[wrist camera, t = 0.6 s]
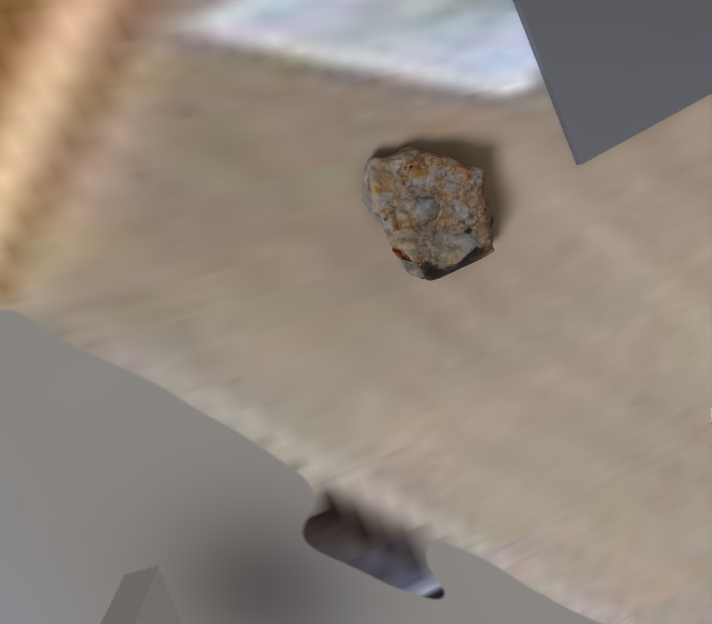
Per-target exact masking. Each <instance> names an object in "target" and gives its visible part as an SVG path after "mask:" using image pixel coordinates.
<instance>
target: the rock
mask: <svg viewBox="0 0 712 624" xmlns="http://www.w3.org/2000/svg"><path fill="white" fill-rule="evenodd" d="M363 181H364V186H363V187H364V189H365V191H364V196H363V203H364V204H366V205H368V206H369V209H370V212H371V214H372V215H373V216H374V217H375V218H376V219H378V220H379V221H380V222H381V223H382V225H383V228H384V231H385V233H386V234H387V236H388V237H387V238H388V242H389V243H390V245H391V247H392V250H393V252H394V253H395V255H396V256H397V257H399V258H400V259H401V261H402V266H403V268H404V269H406V271H407V272H408V273H409V274H411V275H413V276H418V277H419V278H421V279H427V280H428V281H429V280H435V279H438V278H441V277H443V276H445V275H447V274H450V273H452V272H454V271H456V270H458V269H460V268H462V267H464V266H467V265H469V264H471V263H473V262H476V261H478V260H480V259H482V258H484V257H486V256H487V255H489V254H490V253H492V252H493V251H494V248H493V245H492V232H491V226H492V224H493V221H494V218H493V212H492V210H491V207H490V206H489V204H488V201H487V199H486V198H485V197H484V194H483V186H484V181H485V175H484V171H483V170H481V169H480V168H477V167H471V166H465V165H463V164H462V163H460V162H457V161H456V160H454V159H452V158H450V157H449V156H443V155H437V154H434V153H431V152H425V151H422V150H419V149H417V148H415V147H405V148H402V149H399V150H398V151H397V152H395V153H394V154H391V155H389V156H387V157H370V158H369V159H368V161H367V163H366V167H365V171H364V173H363Z"/></svg>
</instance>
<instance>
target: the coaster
mask: <svg viewBox="0 0 712 624" xmlns="http://www.w3.org/2000/svg"><path fill="white" fill-rule="evenodd" d="M513 1H514V4H515V6H516V9H517V11H518V14H519V17H520V19H521V22H522V24H523V27H524V29H525V32H526V35H527V37H528V40H529V42H530V45H531V48H532V50H533V53H534V55H535V58H536V61H537V63H538V66H539V68H540V71H541V74H542V76H543V79H544V81H545V84H546V86H547V89H548V92H549V94H550V97H551V99H552V102H553V105H554V107H555V110H556V112H557V115H558V118H559V120H560V123H561V125H562V128H563V131H564V133H565V136H566V138H567V141H568V143H569V146H570V149H571V151H572V154H573V156H574V159H575V162H576V164H577V165H580V164H583V163H584V162H586V161H588V160H590V159H592V158H594V157H595V156H597V155H599V154H601V153H603V152H605V151H606V150H608V149H610V148H612V147H614V146H616V145H618V144H619V143H621V142H623V141H625V140H627V139H629V138H630V137H632V136H634V135H636V134H638V133H640V132H641V131H643V130H645V129H647V128H649V127H651V126H652V125H654V124H656V123H658V122H660V121H662V120H663V119H665V118H667V117H669V116H671V115H673V114H674V113H676V112H678V111H680V110H682V109H684V108H686V107H687V106H689V105H691V104H693V103H695V102H697V101H698V100H700V99H702V98H704V97H706V96H708V95H709V94H711V93H712V0H513Z"/></svg>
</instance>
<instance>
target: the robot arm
mask: <svg viewBox="0 0 712 624" xmlns="http://www.w3.org/2000/svg"><path fill="white" fill-rule="evenodd" d="M711 420H712V406H711ZM101 624H183V622H182V619H181V617H180V615H179V612H178V610H177V608H176V605H175V603H174V600H173V598H172V596H171V593H170V591H169V589H168V586H167V584H166V581H165V579H164V577H163V574H162V572H161V570H160V567H159V565H158V566H154V567H151V568H147V569H144V570H141V571H137V572H133V573H130V574H126V575H124V577H123V580H122V581H121V584H120V586H119V588H118V590H117V592H116V594H115V596H114V598H113V600H112V602H111V604H110V606H109V608H108V610H107V612H106V614H105V616H104V618H103V620H102V622H101Z"/></svg>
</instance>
